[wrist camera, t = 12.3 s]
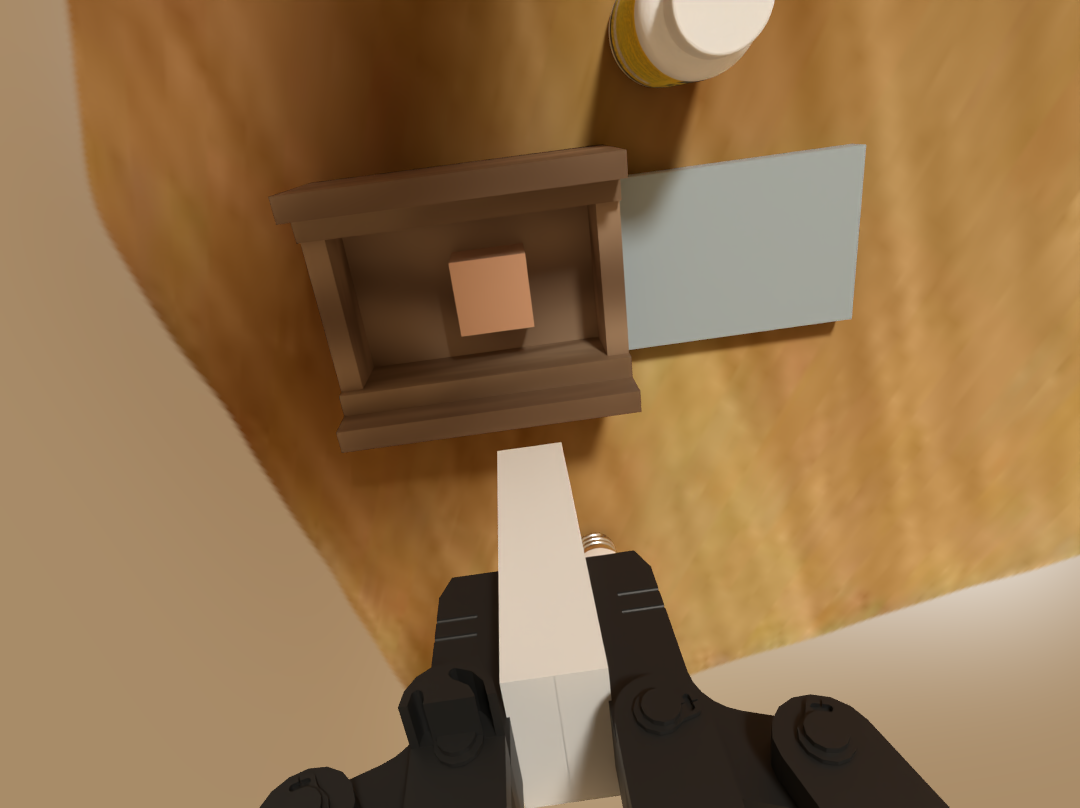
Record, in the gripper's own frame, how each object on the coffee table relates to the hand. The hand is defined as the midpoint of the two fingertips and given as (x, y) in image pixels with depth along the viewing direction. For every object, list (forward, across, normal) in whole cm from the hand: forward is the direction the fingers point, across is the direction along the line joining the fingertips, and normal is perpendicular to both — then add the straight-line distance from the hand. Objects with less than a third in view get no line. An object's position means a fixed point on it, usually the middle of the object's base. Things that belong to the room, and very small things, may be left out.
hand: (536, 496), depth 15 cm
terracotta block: (+23, -1, 0) cm, 23 cm away
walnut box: (+24, -2, 0) cm, 24 cm away
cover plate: (+25, +13, 0) cm, 28 cm away
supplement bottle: (+24, +9, +11) cm, 28 cm away
